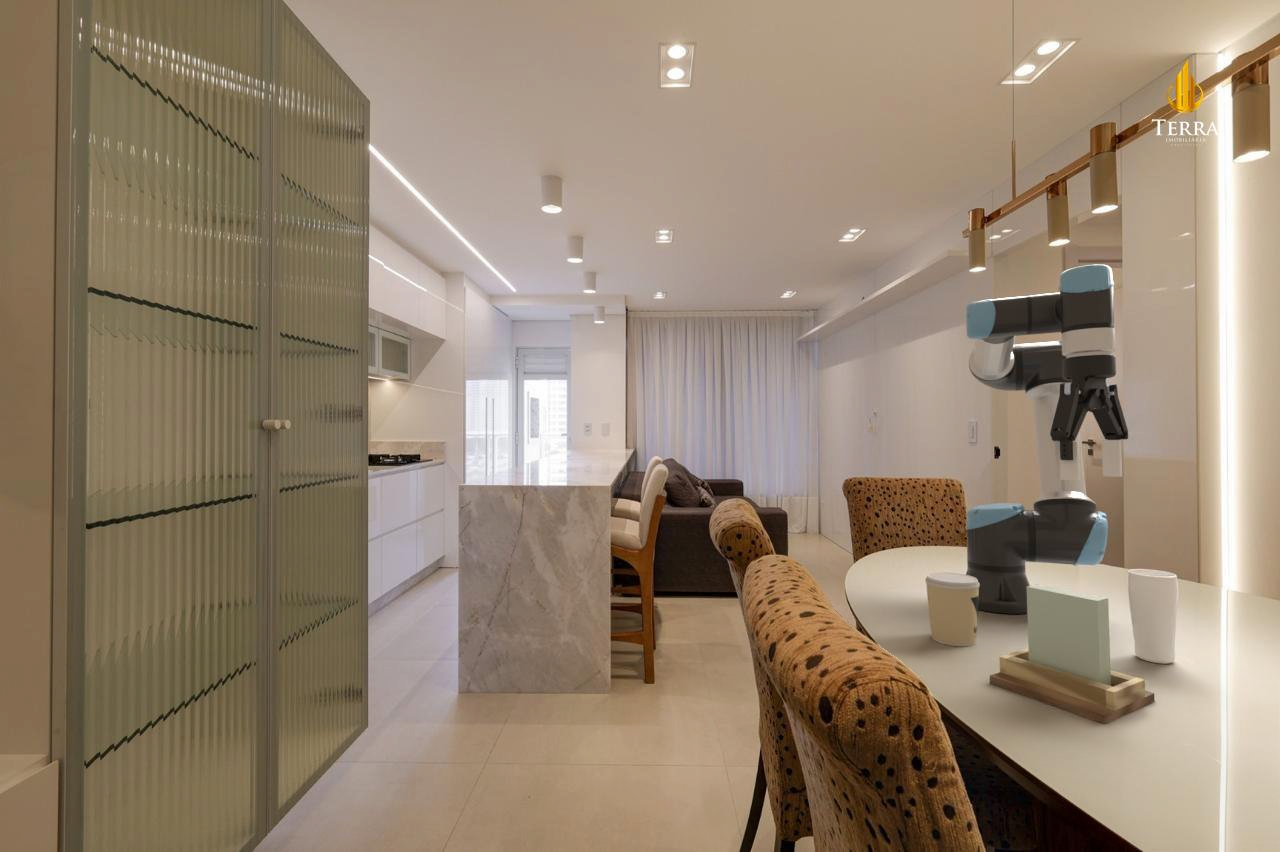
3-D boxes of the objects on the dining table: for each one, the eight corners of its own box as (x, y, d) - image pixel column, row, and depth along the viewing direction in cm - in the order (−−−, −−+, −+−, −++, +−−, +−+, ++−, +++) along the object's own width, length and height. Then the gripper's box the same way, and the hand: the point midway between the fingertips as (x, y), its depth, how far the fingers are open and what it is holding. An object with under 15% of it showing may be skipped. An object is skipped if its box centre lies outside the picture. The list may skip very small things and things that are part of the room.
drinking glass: (1132, 649, 110) (1129, 566, 111) (1182, 658, 106) (1179, 572, 106) (1127, 659, 106) (1124, 573, 106) (1178, 669, 101) (1175, 579, 101)
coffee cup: (988, 649, 112) (986, 583, 112) (934, 646, 114) (932, 582, 114) (971, 633, 121) (970, 572, 121) (921, 630, 123) (919, 571, 123)
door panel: (1040, 671, 98) (1037, 584, 98) (1111, 693, 89) (1108, 598, 90) (1029, 674, 97) (1026, 586, 97) (1100, 697, 88) (1097, 600, 88)
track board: (1040, 666, 103) (1039, 644, 103) (1154, 701, 89) (1153, 676, 89) (989, 683, 97) (989, 659, 97) (1104, 723, 83) (1103, 696, 83)
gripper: (1101, 361, 115) (1105, 474, 114) (1023, 355, 103) (1027, 480, 103) (1149, 356, 108) (1153, 475, 108) (1072, 349, 96) (1076, 482, 96)
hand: (1092, 478), depth 105 cm, fingers open, 13 cm apart
